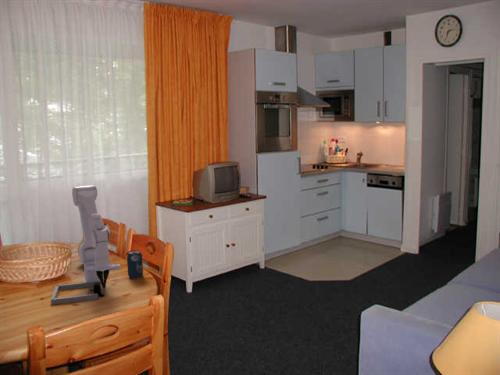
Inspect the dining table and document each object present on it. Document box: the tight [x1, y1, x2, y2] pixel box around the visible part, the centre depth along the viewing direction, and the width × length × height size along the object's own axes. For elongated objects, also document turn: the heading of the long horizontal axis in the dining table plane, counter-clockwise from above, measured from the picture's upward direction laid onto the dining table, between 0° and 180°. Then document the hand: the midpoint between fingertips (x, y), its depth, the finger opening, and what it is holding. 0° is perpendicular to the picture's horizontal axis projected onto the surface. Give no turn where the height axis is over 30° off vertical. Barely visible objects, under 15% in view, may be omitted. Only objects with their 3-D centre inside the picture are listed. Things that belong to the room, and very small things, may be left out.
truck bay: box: [50, 281, 100, 305], centre depth 208 cm, size 17×18×2 cm
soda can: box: [126, 249, 144, 280], centre depth 228 cm, size 7×7×12 cm
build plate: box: [89, 282, 106, 298], centre depth 209 cm, size 12×7×5 cm, turn 16°
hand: (104, 287), depth 210 cm, fingers closed
